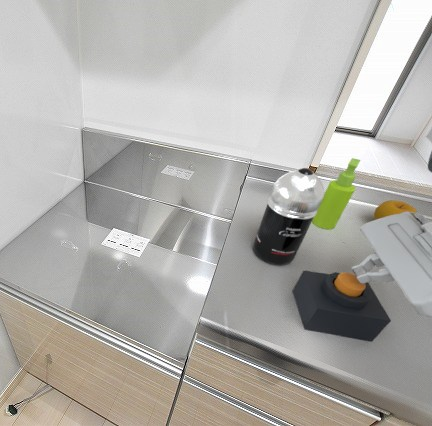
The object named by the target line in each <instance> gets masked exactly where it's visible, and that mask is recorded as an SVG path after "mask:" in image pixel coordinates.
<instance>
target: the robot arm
mask: <svg viewBox="0 0 432 426" xmlns="http://www.w3.org/2000/svg"><path fill="white" fill-rule="evenodd" d="M427 170H428V171H429V172H430V173H431V174H432V150H431V152H430V154H429V157H428V162H427ZM412 214H413V215H412ZM359 231H360V232H361V234H362V235H363V236H364V238H365V239H366V241H367V242H368V244H369V245H370V247H371V248H372V250H373V251H374V252H375V253H371V254H369V255H368V256H366V257H365V258H364V259H363V260H362V261H361V262H360V263H359V264H356V265H353V266H351V271H352V272H353V274H354V275H355V276H356V277H357V279H358V281H359V282H360V283H367V282H368V283H369V282H374V283H375V282H378V283H391V282H394V281H395V283H396V284H397V286H398V287H399V289H400V291H402V293H403V294H404V296H405V297H406V299H407V300H408V302H409V303H410V304H411V306H412V308H413V309H414V310H415V312H416V313H417V314H418V315H420V316H424V317H430V318H432V221H429V220H428V219H426V218H425V216H424V215H423V214H422V213H420V212H417V213H414V212H403V213H400V214H395V215H390V216H387V217H383V218H380V219H377V220H375V219H374V220H371V221H368V222H365V223H363V224H362V225H361V227H360V228H359ZM383 266H384V267H383ZM374 267H377V268H380V267H382V268H380V269H378V272H377V271H376V272H374V271H373V272H372V271H371V272H369V271H370V270H372V269H373V268H374Z"/></svg>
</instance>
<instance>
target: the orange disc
mask: <svg viewBox="0 0 432 426" xmlns="http://www.w3.org/2000/svg"><path fill="white" fill-rule="evenodd" d="M339 273H340V274H339V275H338V277H337V278H336V280H335V281H334V286H335V288H336V289H338V290H339V291H340V292H341V293H343V294H346V295H348V296H351V297H358V296H360V295H361V293H362V292H363V290H364V289H365V288H366V285H365V283H360V282H359V281H358V279H357V277H356V276H355V274H354V273H351V272H339Z"/></svg>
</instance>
